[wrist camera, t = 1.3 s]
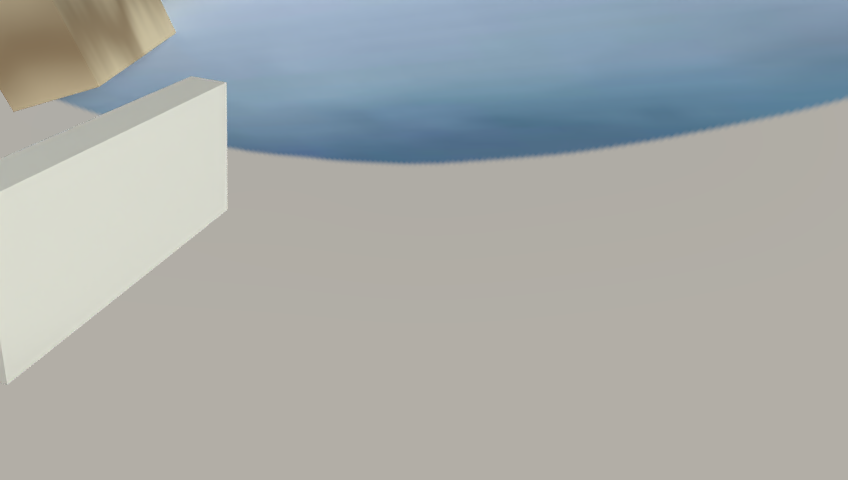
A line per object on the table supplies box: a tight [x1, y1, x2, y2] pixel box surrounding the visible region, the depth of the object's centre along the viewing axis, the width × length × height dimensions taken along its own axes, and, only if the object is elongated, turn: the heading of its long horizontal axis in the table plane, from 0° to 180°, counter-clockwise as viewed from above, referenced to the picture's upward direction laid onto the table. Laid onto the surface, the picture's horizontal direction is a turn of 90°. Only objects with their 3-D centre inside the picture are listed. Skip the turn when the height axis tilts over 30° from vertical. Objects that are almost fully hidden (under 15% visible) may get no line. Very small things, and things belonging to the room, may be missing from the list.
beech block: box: [0, 0, 176, 112], centre depth 39 cm, size 5×5×8 cm
